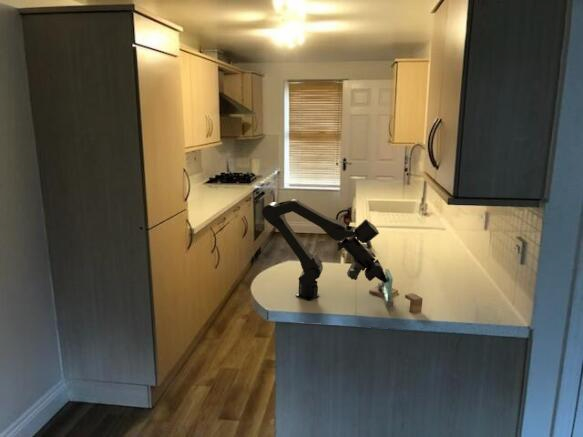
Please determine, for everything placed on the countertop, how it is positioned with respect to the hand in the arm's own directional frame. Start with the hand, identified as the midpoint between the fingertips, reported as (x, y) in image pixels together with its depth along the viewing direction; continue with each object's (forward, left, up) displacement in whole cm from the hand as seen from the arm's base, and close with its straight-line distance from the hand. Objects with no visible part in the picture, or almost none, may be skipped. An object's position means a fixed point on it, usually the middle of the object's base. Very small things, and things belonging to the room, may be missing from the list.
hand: (385, 281), depth 164 cm
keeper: (+11, +1, -8) cm, 13 cm away
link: (0, +2, -6) cm, 7 cm away
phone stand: (-44, +58, -8) cm, 74 cm away
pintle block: (-5, +8, -8) cm, 12 cm away
